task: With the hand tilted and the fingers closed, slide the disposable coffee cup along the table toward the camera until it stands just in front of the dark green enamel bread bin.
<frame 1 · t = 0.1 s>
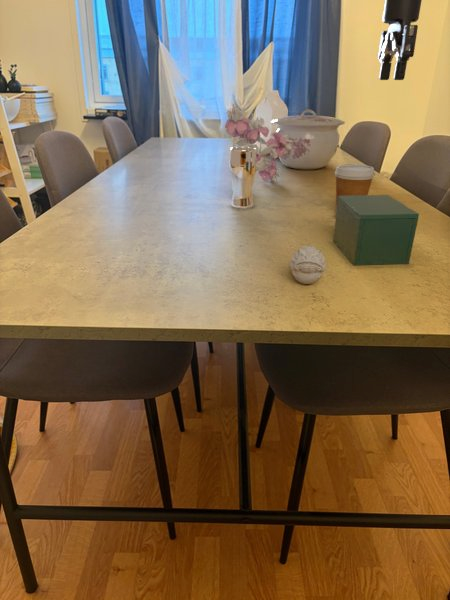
hand: (390, 80, 101), 31 cm above the table, tool pointing down, fingers open, 8 cm apart
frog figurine: (305, 284, 74), on the table
chamber pot: (304, 167, 170), on the table
disposable coffee cup: (348, 216, 109), on the table
bread bin: (368, 251, 87), on the table
beer glass: (242, 206, 119), on the table
flower: (258, 183, 144), on the table
bread bin lid: (375, 206, 83), point 9 cm above the table, hinge at 0.0°
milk: (269, 150, 208), on the table
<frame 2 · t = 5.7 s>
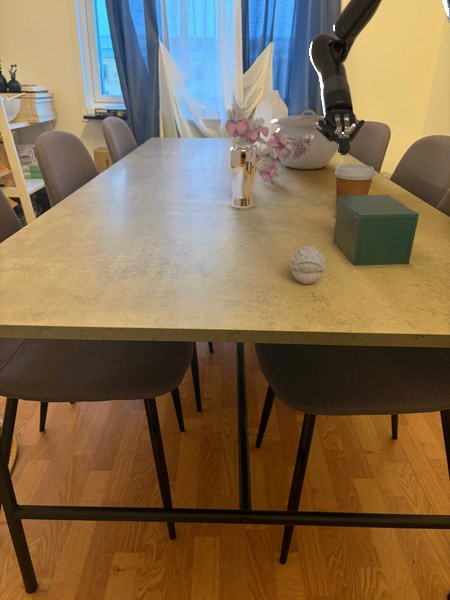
hand: (344, 153, 111), 14 cm above the table, tool tilted 45°, fingers closed
nothing on the table moved.
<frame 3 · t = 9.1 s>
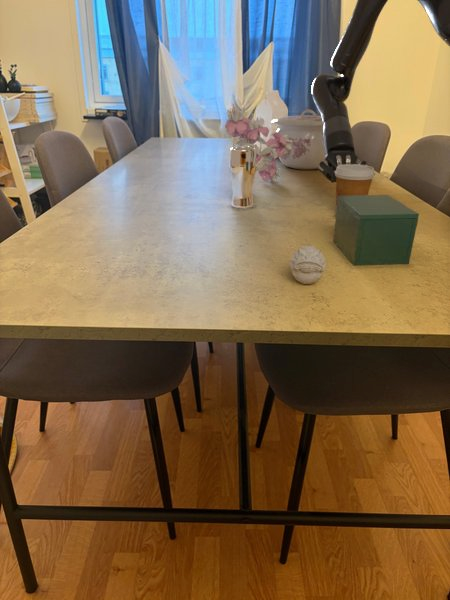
hand: (346, 194, 111), 4 cm above the table, tool tilted 45°, fingers closed
disposable coffee cup: (348, 216, 109), on the table, touching gripper
everything else where it was.
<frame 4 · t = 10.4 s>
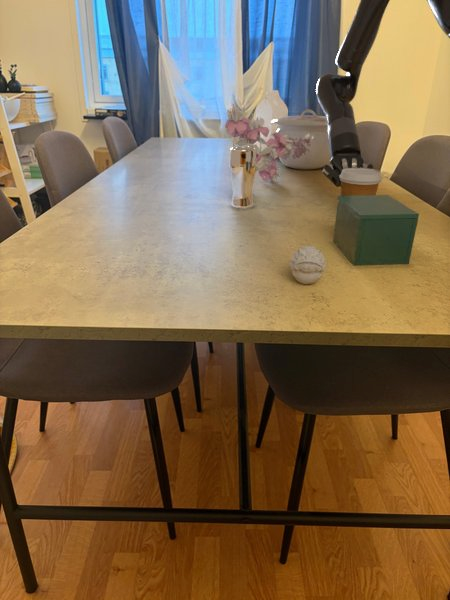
hand: (351, 199, 107), 4 cm above the table, tool tilted 45°, fingers closed
disposable coffee cup: (354, 222, 105), on the table, touching gripper
everything else where it was.
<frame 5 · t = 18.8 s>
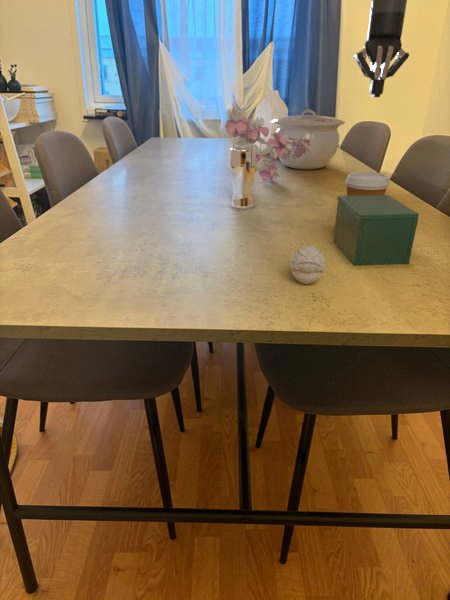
hand: (375, 96, 105), 27 cm above the table, tool pointing down, fingers closed
disposable coffee cup: (360, 229, 101), on the table
everything else where it was.
at the end: disposable coffee cup inside the target area on the table beside the bread bin (0.2 cm from its centre), on the table; disposable coffee cup tilted 0° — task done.
